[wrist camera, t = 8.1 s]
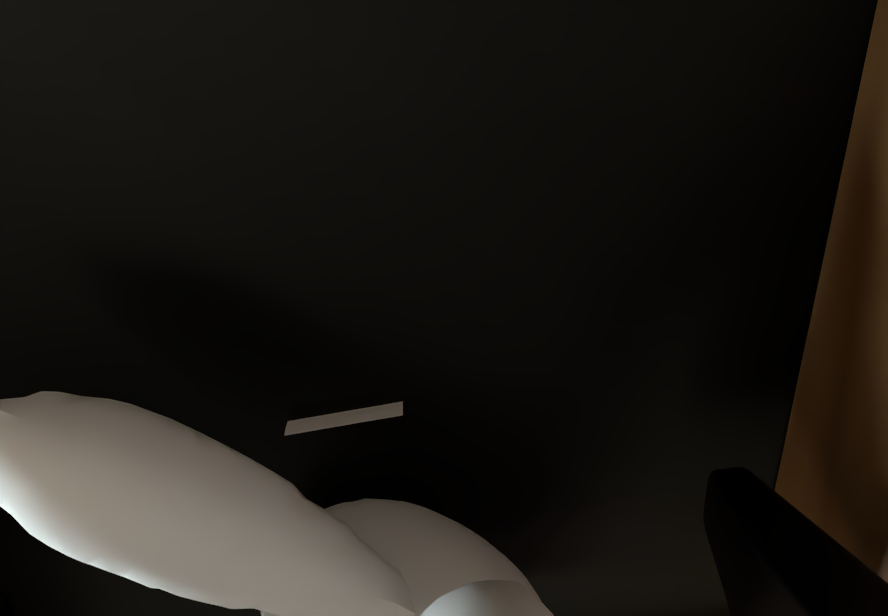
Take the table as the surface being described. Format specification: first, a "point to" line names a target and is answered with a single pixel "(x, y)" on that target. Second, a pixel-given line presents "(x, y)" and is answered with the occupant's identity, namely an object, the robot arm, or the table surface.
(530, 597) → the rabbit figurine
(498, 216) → the table surface
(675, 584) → the table surface
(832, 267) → the frame
